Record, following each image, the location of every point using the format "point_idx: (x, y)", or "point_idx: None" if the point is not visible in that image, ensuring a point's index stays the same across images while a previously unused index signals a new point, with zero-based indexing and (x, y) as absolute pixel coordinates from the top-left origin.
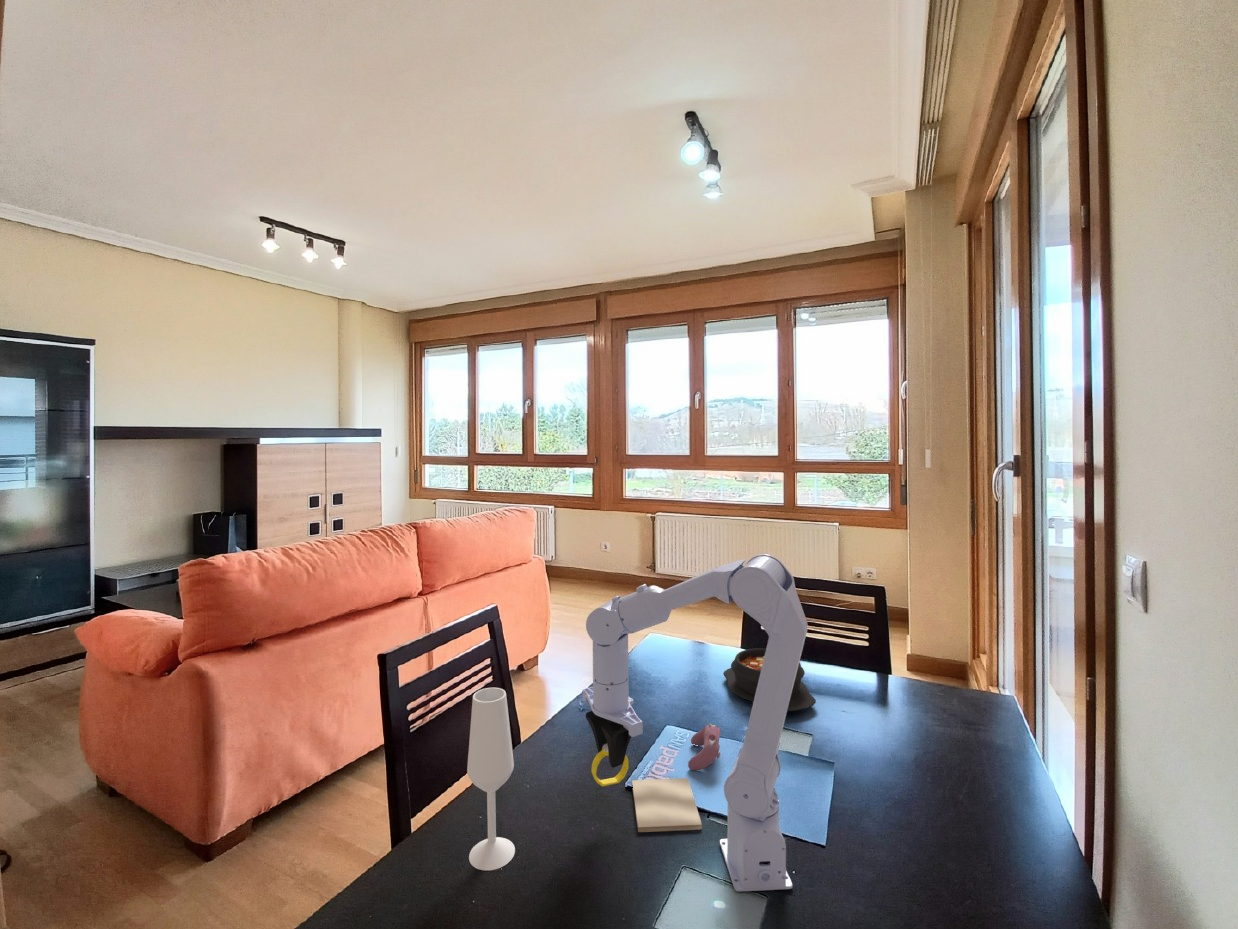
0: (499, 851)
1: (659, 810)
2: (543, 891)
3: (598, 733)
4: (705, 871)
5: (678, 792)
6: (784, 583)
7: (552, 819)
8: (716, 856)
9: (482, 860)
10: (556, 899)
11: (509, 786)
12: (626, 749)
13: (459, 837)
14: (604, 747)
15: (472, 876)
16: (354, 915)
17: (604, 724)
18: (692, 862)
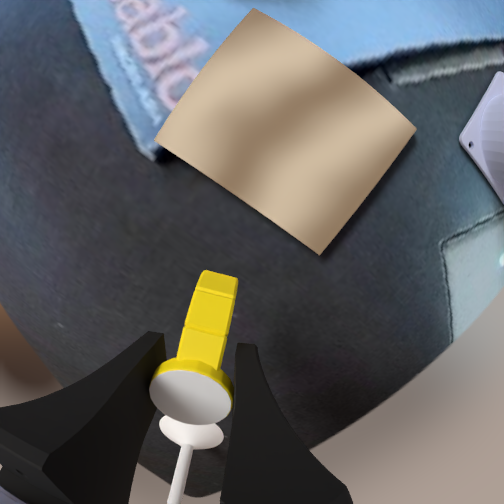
0: (205, 440)
1: (310, 166)
2: (301, 424)
3: (132, 459)
4: (472, 223)
5: (285, 68)
6: None
7: None
8: (469, 176)
9: (203, 448)
10: (325, 419)
11: (54, 345)
12: (267, 386)
13: None
14: (175, 415)
15: (216, 453)
16: (201, 495)
17: (112, 470)
18: (448, 224)
